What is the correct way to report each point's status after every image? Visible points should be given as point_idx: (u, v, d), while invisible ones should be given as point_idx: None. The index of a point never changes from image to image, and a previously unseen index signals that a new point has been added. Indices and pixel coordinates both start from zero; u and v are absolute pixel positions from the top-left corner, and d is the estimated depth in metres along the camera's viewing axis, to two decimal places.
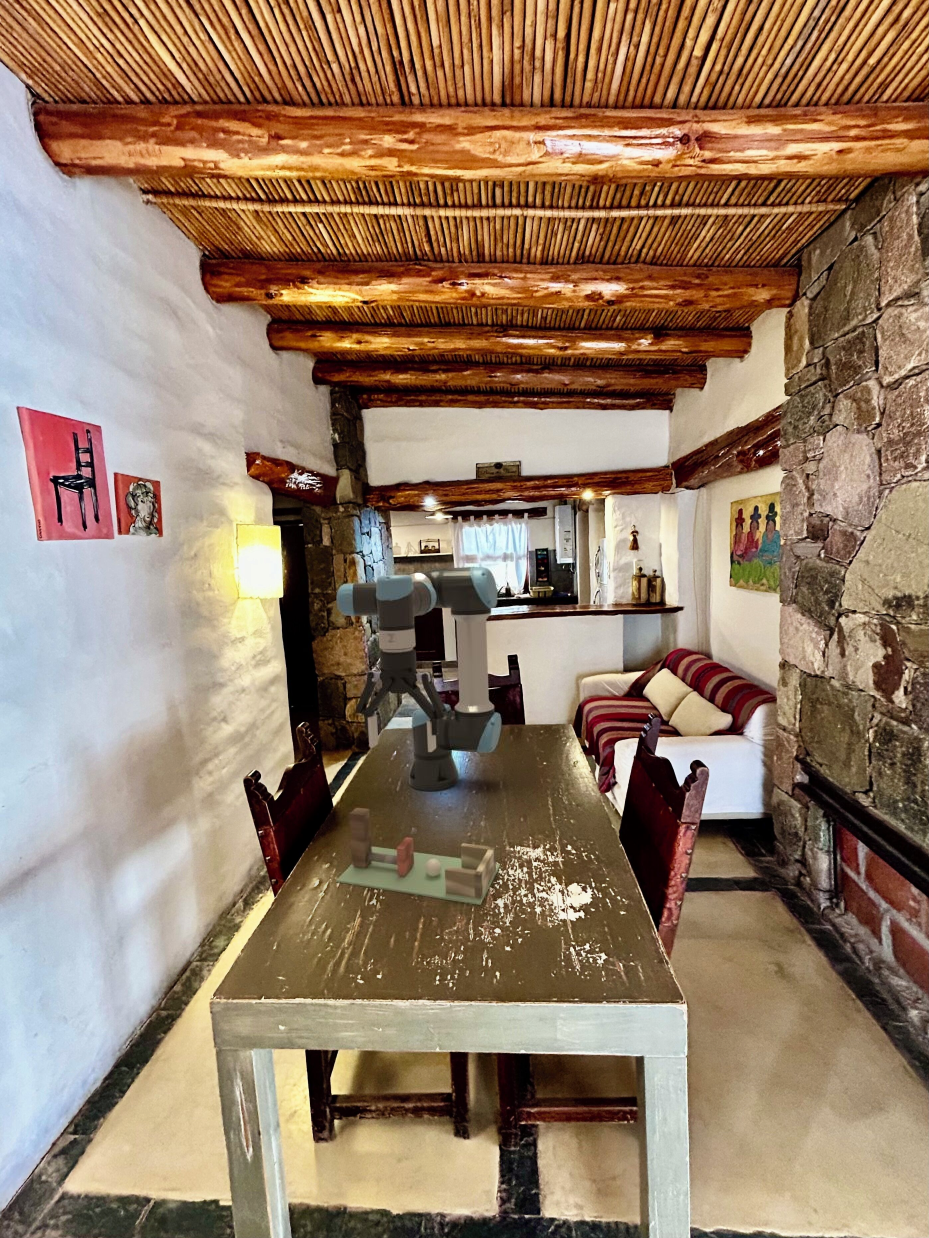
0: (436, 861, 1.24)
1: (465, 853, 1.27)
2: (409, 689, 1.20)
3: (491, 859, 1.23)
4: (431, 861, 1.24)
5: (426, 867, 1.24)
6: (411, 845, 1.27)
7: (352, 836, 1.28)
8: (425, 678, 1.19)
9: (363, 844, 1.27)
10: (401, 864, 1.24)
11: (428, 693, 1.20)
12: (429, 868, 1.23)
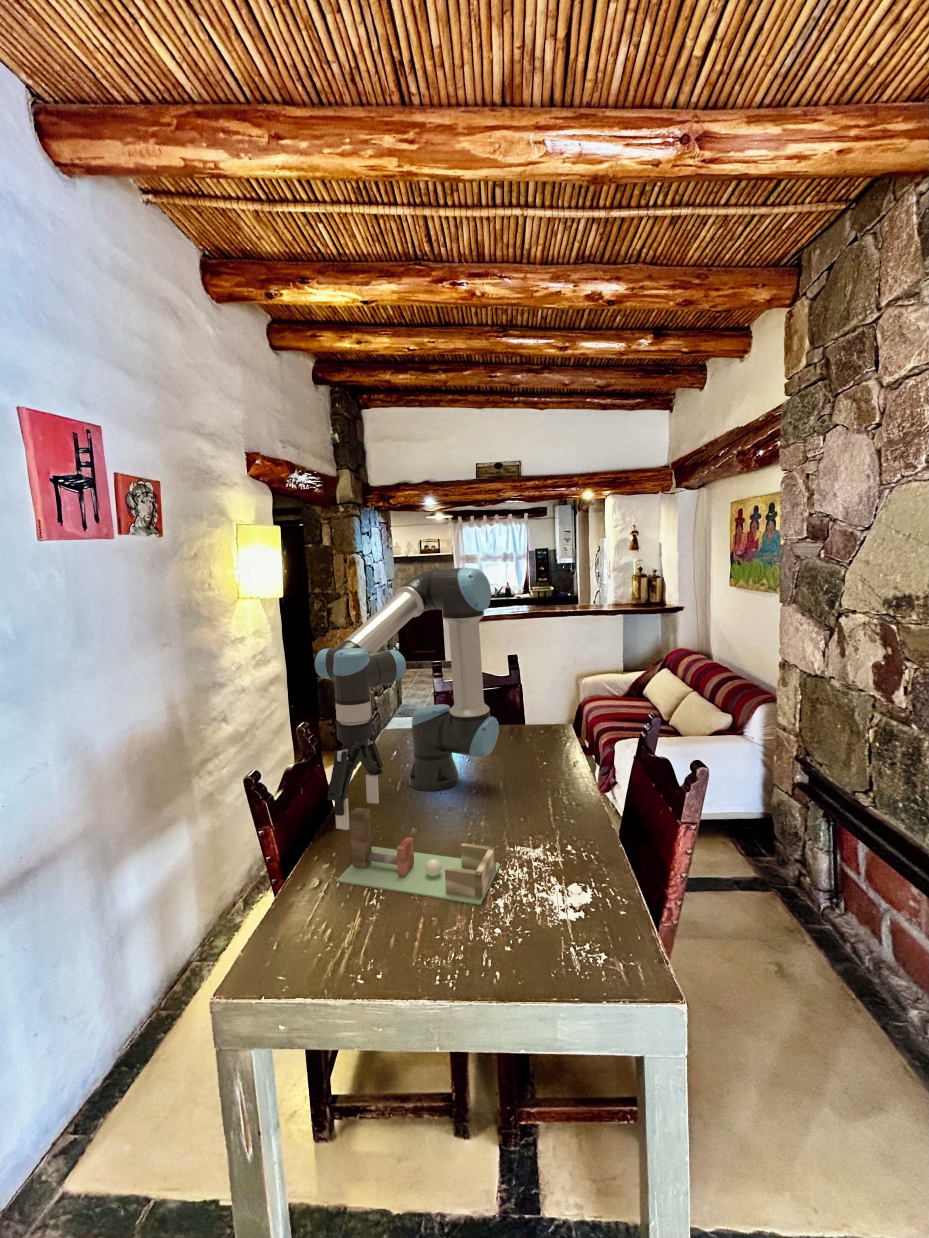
0: (436, 861, 1.24)
1: (465, 853, 1.27)
2: None
3: (491, 859, 1.23)
4: (431, 861, 1.24)
5: (426, 867, 1.24)
6: (411, 845, 1.27)
7: (352, 836, 1.28)
8: None
9: (363, 844, 1.27)
10: (401, 864, 1.24)
11: None
12: (429, 868, 1.23)
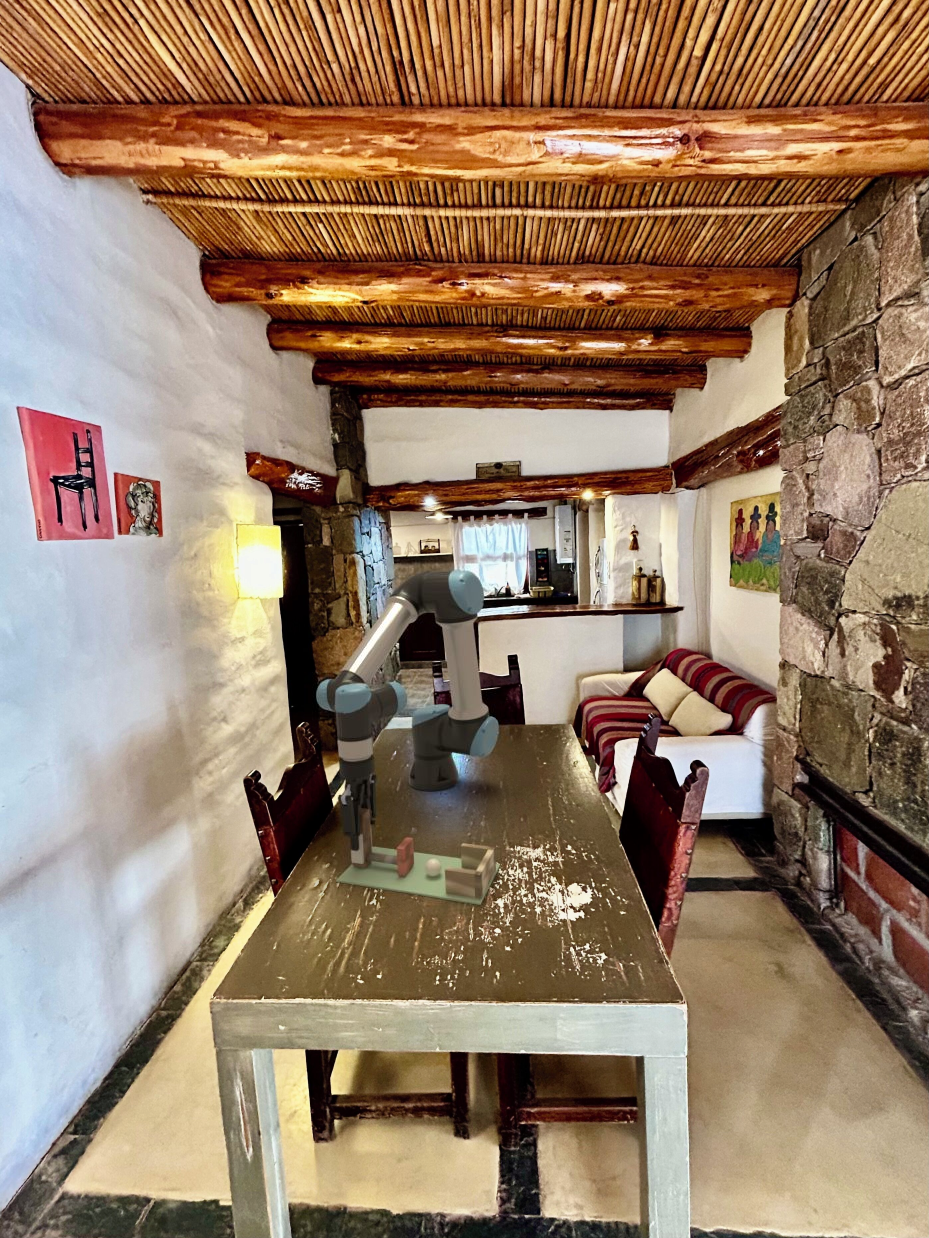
0: (436, 861, 1.24)
1: (465, 853, 1.27)
2: None
3: (491, 859, 1.23)
4: (431, 861, 1.24)
5: (426, 867, 1.24)
6: (411, 845, 1.27)
7: None
8: None
9: (363, 844, 1.27)
10: (402, 864, 1.24)
11: None
12: (429, 868, 1.23)
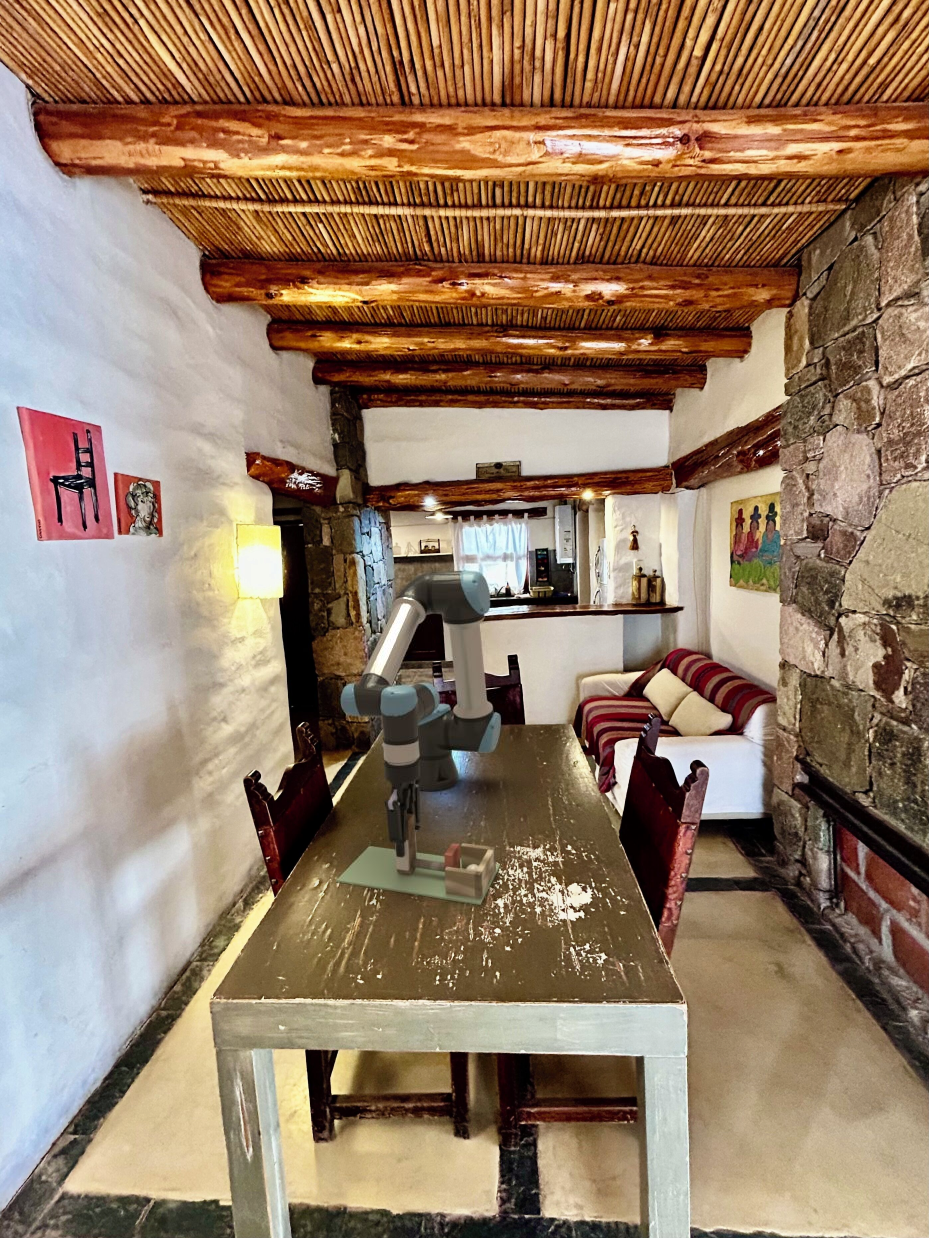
0: (467, 867, 1.22)
1: (465, 853, 1.27)
2: None
3: (491, 859, 1.23)
4: None
5: None
6: (458, 851, 1.24)
7: None
8: None
9: (409, 850, 1.24)
10: None
11: None
12: None
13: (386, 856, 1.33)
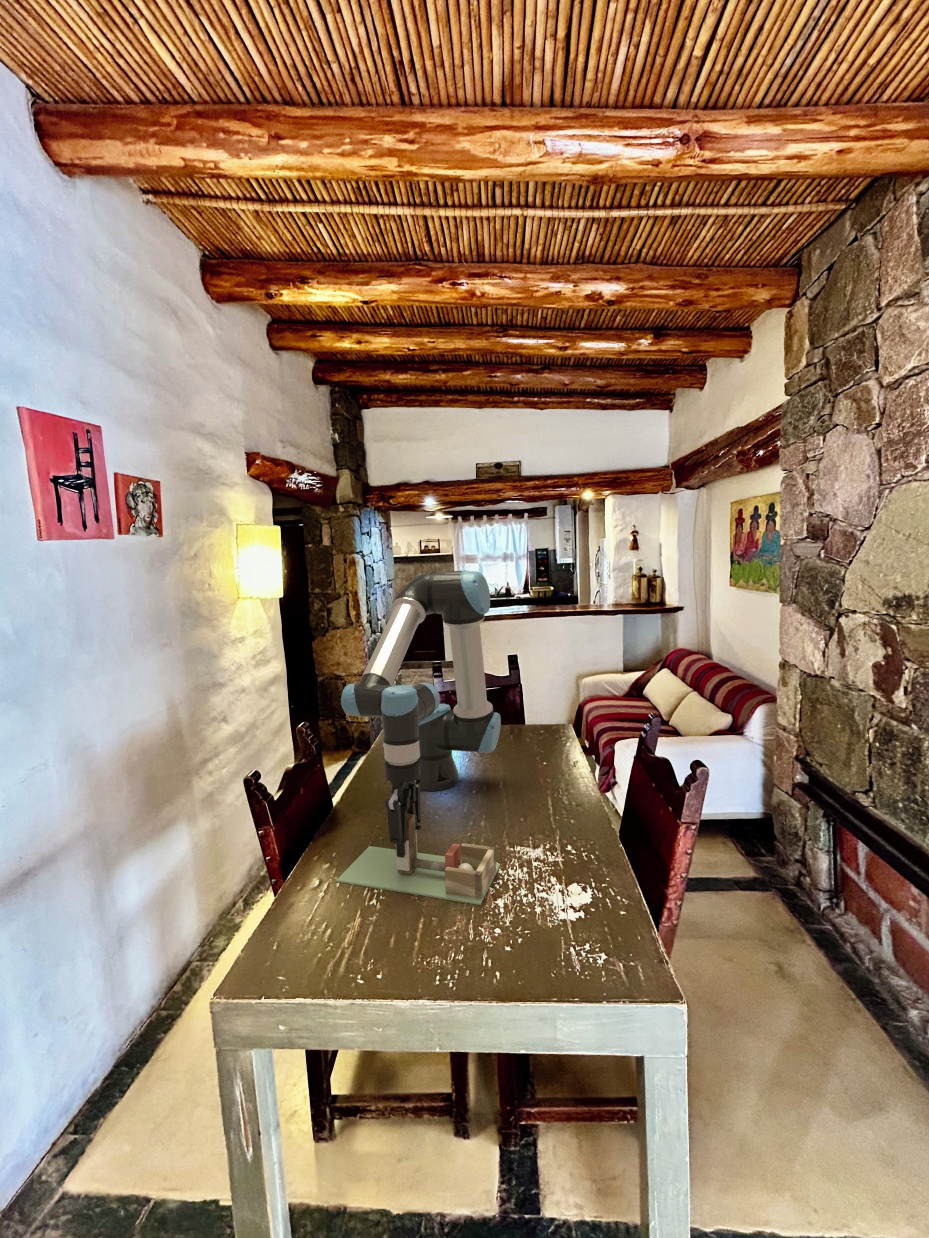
0: None
1: (465, 853, 1.27)
2: None
3: (491, 859, 1.23)
4: None
5: None
6: (458, 851, 1.24)
7: None
8: None
9: (409, 850, 1.24)
10: None
11: None
12: None
13: (386, 856, 1.33)
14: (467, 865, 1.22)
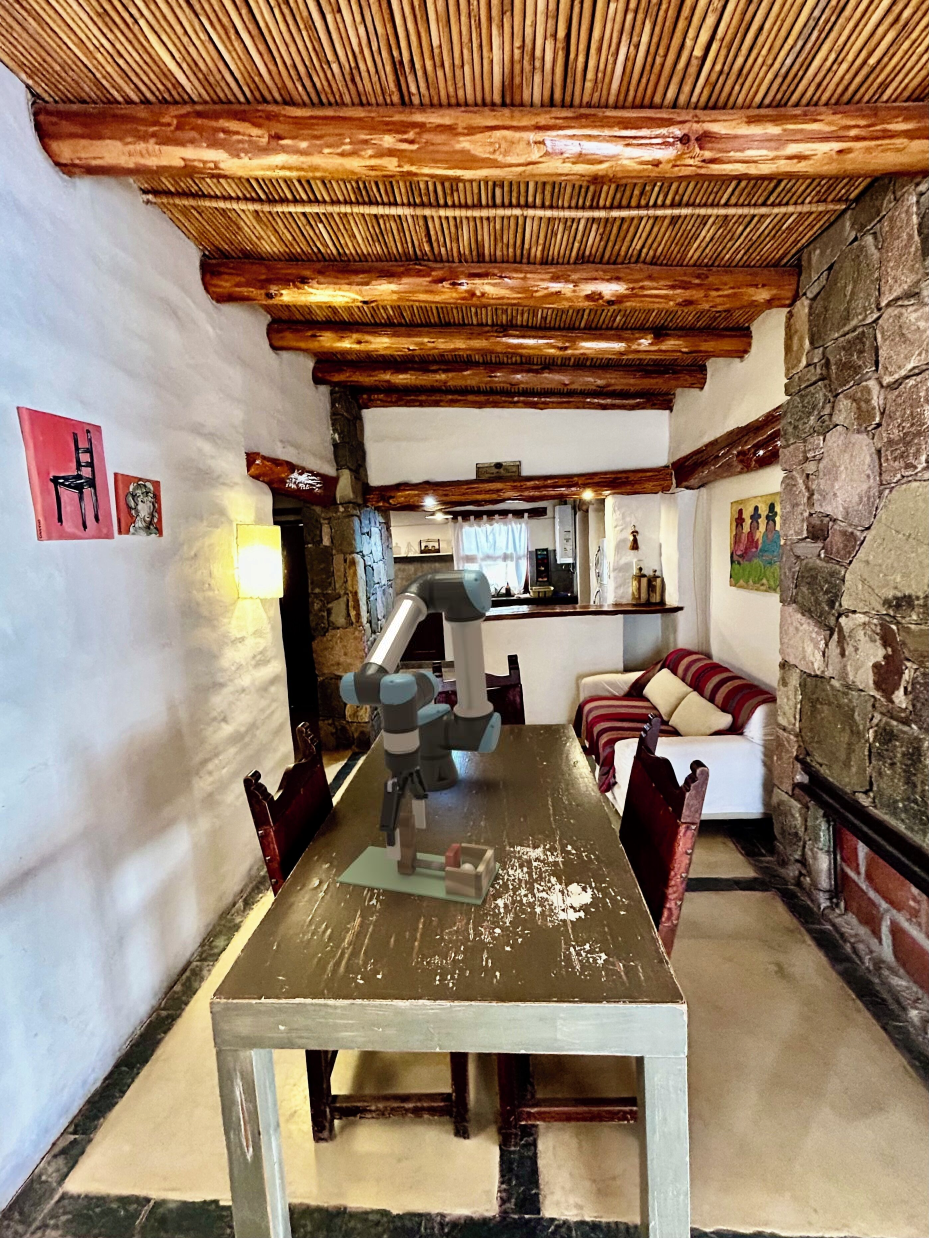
0: None
1: (465, 853, 1.27)
2: None
3: (491, 859, 1.23)
4: None
5: None
6: (458, 851, 1.24)
7: None
8: None
9: (409, 850, 1.24)
10: None
11: None
12: None
13: (386, 856, 1.33)
14: (471, 866, 1.22)
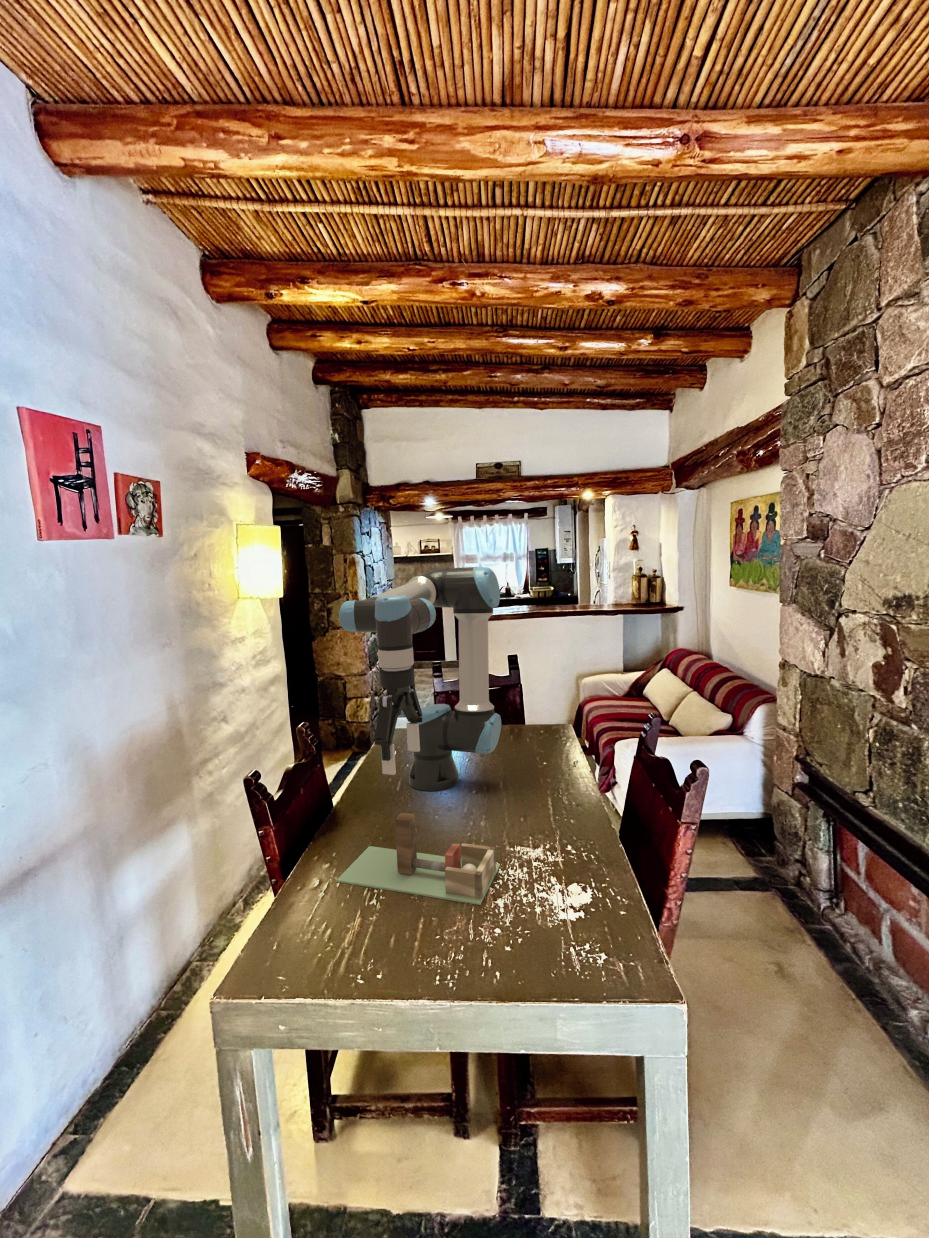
0: None
1: (465, 853, 1.27)
2: None
3: (491, 859, 1.23)
4: None
5: None
6: (458, 851, 1.24)
7: (397, 842, 1.25)
8: None
9: (409, 850, 1.24)
10: None
11: None
12: None
13: (386, 856, 1.33)
14: (474, 868, 1.21)
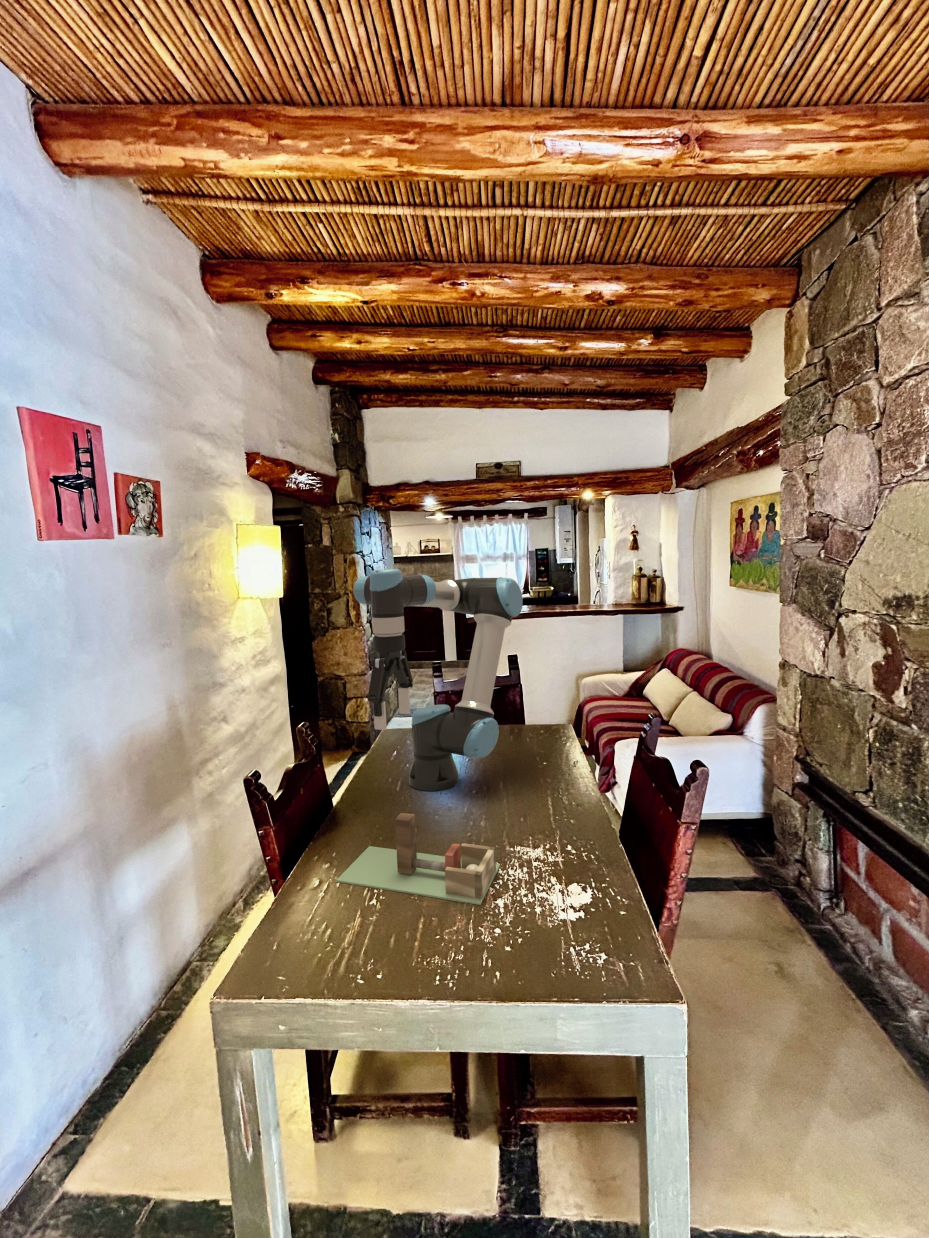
0: (466, 868, 1.22)
1: (465, 853, 1.27)
2: None
3: (491, 859, 1.23)
4: None
5: None
6: (458, 851, 1.24)
7: (397, 842, 1.25)
8: None
9: (409, 850, 1.24)
10: None
11: None
12: None
13: (386, 856, 1.33)
14: None
